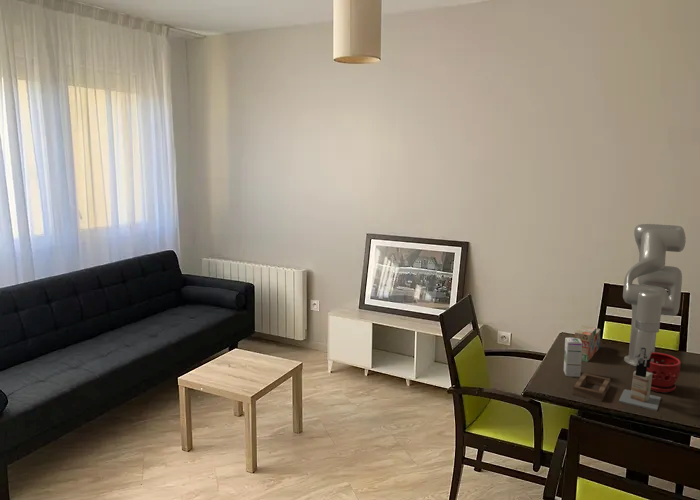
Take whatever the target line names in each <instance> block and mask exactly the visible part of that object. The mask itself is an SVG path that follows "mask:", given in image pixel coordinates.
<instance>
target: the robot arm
mask: <svg viewBox="0 0 700 500" xmlns="http://www.w3.org/2000/svg"><path fill="white" fill-rule="evenodd" d="M633 233H634V234H633V236H634V241H635V243H636V246H637V249H638V253H639V256H638V262H636V263H635V264H634V265H633V266H631V268H629V270H628V271H627V273H626V274H625V277H624V281H623V291H622V298H623V301H624V303H626V304H628V305H631V325H630V327H631V328H630V338H629V349H628V355H625V356H624V358H623V361H624V362H625V363H626V364H628V365H630V366H633V367H635V368H636V369H635V371H636V375H637V376H641V377H646V372H647V368H649V367H650V359H651V354H652V352H655V353H656V351H655V350H656V341H657V334H658V333H659V332H660V328H661V327H660V326H661V317H662V316H665V317H666V316H668V317H673V316H677V315H678V313H679V312H680V311H679V310H680V304H681V297H682V296H681V295H682V285H683V275H682V271H681V269H680V268H679V267H677V266H671V265H666V258H667V257H666V256H667V254H666V252H673V253H677V252H678V253H681V252H682V251H684V249H685V247H686V246H685V245H686V239H687V238H686V232H685V230H684V228H683V226H681V225H674V224H673V225H671V224H658V223H656V224H655V223H642V224H638V225H636V226H635V227H634V232H633ZM636 279H637V284H636V283H633V281H635V280H636ZM653 361H654V359H651V362H653ZM656 363H658V361H657V362H656Z"/></svg>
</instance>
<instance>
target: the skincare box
mask: <svg viewBox="0 0 700 500" xmlns="http://www.w3.org/2000/svg"><path fill="white" fill-rule="evenodd" d="M651 382H652V373H650V372H646V377H641V376H637V375H636V370H634V371H633V374H632V382H631V389H630V390H631V396H630V398H633V399H635V400H638V401H641V402H646V401H647V400H649V397H650V395H651V390H650V389H651Z"/></svg>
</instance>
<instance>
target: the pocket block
mask: <svg viewBox="0 0 700 500" xmlns="http://www.w3.org/2000/svg"><path fill="white" fill-rule="evenodd" d="M611 380H612V379H611V378H609V377H604V376H599V375H595V374H590V373H585V372H583V373H581V375H580V377H578V379H577V381H576V382H575V384H574V386H573V388H572V395H573V396H577V397H582V398H584V399H589V400H592V401H593V400H594V401H598V402H602V401H603V400H604V397H605V396H606V394H607V393H608V391H609V389H610V387H611ZM586 383H587V384H592V385H596V386H600V387H599V389H598V390H597V389H592V388H587V387H585V385H586Z"/></svg>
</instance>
